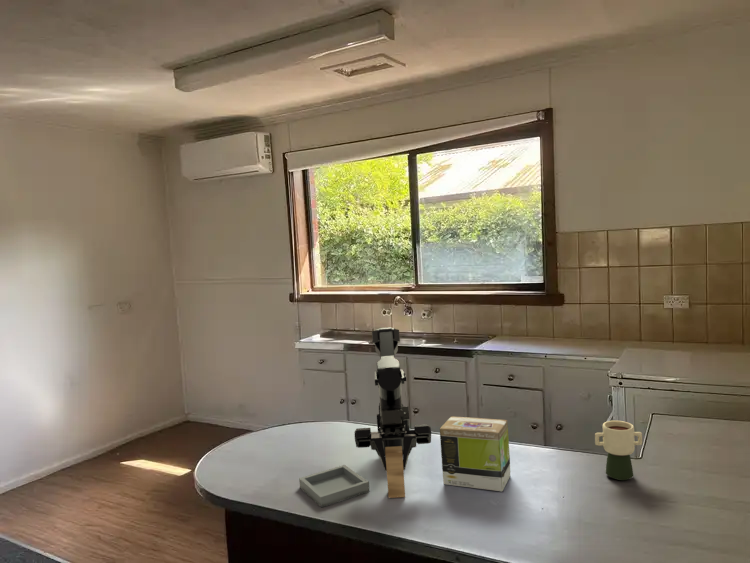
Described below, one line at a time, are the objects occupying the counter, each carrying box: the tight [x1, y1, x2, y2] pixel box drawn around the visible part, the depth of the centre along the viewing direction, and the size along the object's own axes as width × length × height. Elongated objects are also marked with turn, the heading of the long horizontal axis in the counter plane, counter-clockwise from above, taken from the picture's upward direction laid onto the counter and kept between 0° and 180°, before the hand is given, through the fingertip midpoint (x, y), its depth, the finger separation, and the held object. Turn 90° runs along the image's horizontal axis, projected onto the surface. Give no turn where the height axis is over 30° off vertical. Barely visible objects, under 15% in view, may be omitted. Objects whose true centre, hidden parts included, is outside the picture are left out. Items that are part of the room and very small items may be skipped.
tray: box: [299, 464, 370, 508], centre depth 145 cm, size 13×13×2 cm
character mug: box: [594, 420, 643, 481], centre depth 141 cm, size 11×7×13 cm, turn 82°
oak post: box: [385, 446, 406, 499], centre depth 140 cm, size 4×4×11 cm
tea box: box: [439, 415, 511, 492], centre depth 144 cm, size 15×10×15 cm, turn 65°
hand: (395, 469), depth 138 cm, fingers closed on oak post, 4 cm apart
